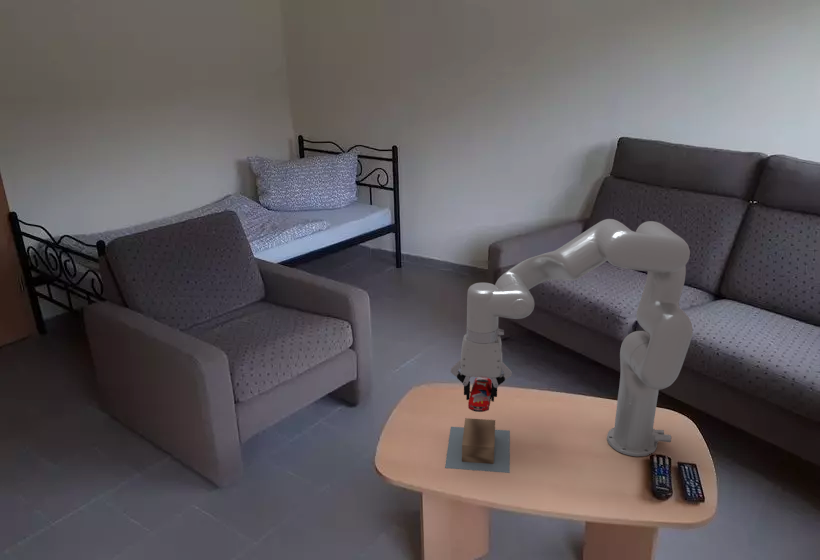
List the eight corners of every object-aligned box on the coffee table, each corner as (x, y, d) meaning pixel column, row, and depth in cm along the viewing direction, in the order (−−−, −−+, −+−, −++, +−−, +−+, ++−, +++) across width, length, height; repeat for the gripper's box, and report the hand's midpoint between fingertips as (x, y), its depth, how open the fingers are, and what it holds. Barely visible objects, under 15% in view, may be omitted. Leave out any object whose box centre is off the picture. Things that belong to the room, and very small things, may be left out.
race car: (488, 415, 162) (488, 401, 160) (466, 413, 163) (466, 399, 162) (494, 387, 174) (495, 374, 172) (474, 385, 175) (474, 371, 173)
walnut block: (494, 435, 179) (495, 420, 177) (493, 464, 168) (494, 447, 166) (464, 433, 180) (465, 418, 178) (461, 461, 169) (462, 445, 167)
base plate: (509, 434, 182) (509, 430, 181) (509, 476, 165) (509, 472, 165) (450, 430, 184) (450, 426, 183) (444, 471, 167) (444, 467, 167)
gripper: (518, 328, 164) (514, 392, 171) (448, 324, 166) (447, 388, 173) (518, 342, 157) (514, 408, 164) (445, 338, 159) (444, 403, 166)
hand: (480, 397), depth 168 cm, fingers closed on race car, 5 cm apart
